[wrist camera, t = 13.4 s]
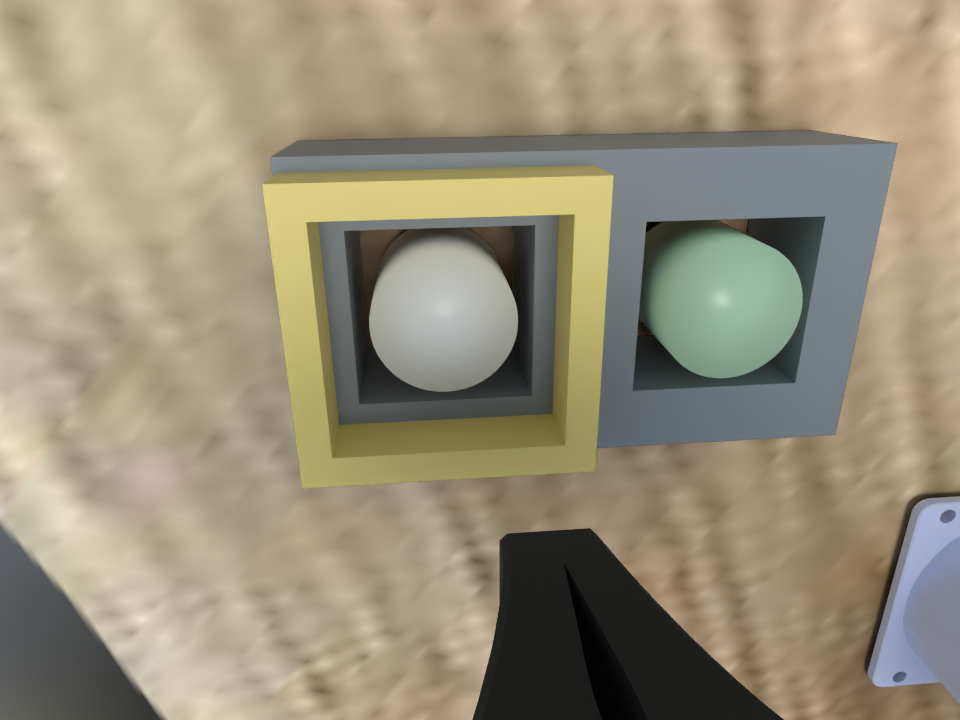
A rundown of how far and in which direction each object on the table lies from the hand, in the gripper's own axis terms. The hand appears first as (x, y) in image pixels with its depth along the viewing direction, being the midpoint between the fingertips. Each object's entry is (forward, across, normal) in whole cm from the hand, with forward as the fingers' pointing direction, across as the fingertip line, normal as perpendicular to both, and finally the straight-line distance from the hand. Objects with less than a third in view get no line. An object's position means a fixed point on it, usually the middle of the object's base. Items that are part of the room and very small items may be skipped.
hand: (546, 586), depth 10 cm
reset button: (+9, +1, -2) cm, 9 cm away
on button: (+9, -5, -2) cm, 11 cm away
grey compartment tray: (+10, -2, -2) cm, 10 cm away
